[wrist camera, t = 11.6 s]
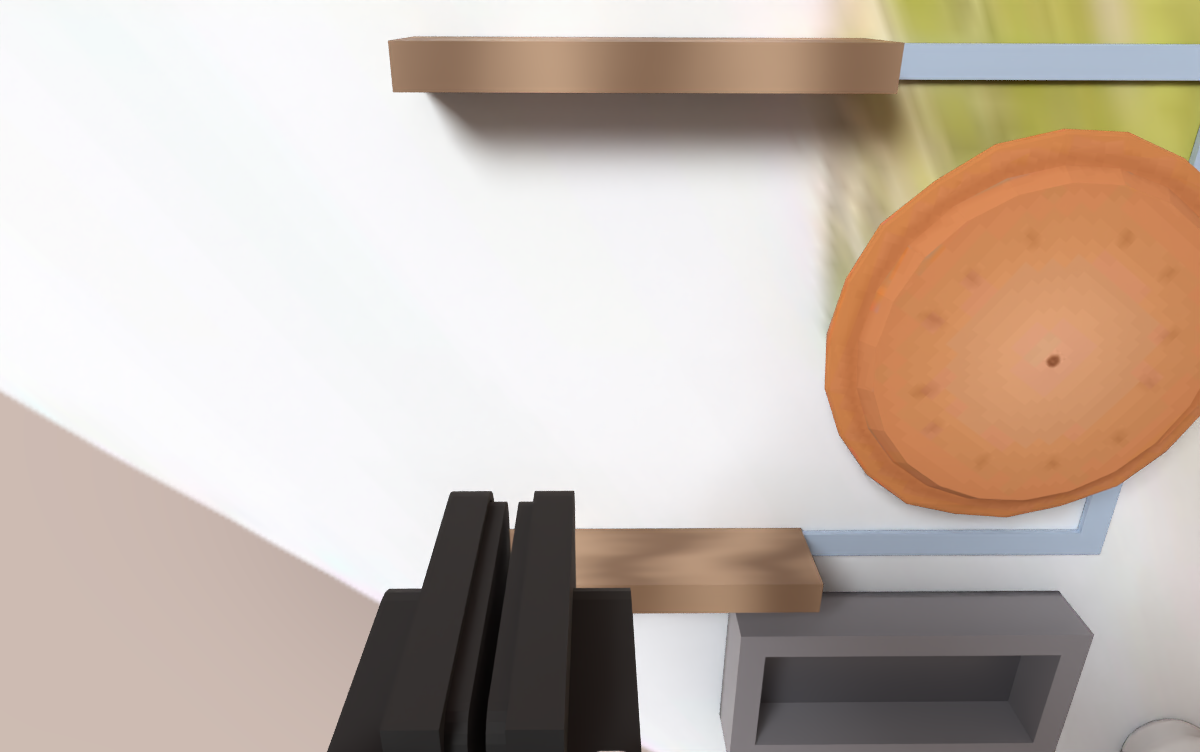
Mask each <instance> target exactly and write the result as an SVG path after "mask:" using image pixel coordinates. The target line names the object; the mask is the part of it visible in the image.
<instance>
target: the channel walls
mask: <svg viewBox="0 0 1200 752" xmlns="http://www.w3.org/2000/svg"><path fill="white" fill-rule="evenodd" d="M904 44H905V43H901V42H893V41H884V40H875V39H866V38H658V37H408V38H402V39H396V40H390V41H388V45H389V56H390V66H391V76H392V86H393V92H484V93H800V94H897V91H898V84H899V77H900V71H901V64H902V57H903V51H904ZM514 530H515V529H510V545H511V550H512V543H513V537H514ZM575 550H576V588H630V589H631V598H632V613H788V612H819V611H820V605H821V598H822V591H823V585H824V584H823V582H822V579H821V577H820V574H819V572H818V569H817V567H816V564H815V562H814V559H813V557H812V555H811V552H810V550H809V547H808V545H807V542H806V540H805V537H804V535H803V532H802V530H801V528H697V529H575Z"/></svg>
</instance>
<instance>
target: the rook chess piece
mask: <svg viewBox="0 0 1200 752" xmlns="http://www.w3.org/2000/svg"><path fill="white" fill-rule="evenodd" d="M1122 752H1200V728H1198V727H1196V726H1194V725H1192V724H1190V723H1187V722H1184V721H1181V720H1175V719H1162V720H1157V721H1152V722H1149V723H1147V724H1145V725H1143V726H1141V727H1139V728H1137V729H1136V730H1135V731H1134V732H1133V733H1132V734H1130V735H1129V736H1128V737H1127V739H1126V741H1125V743H1124V745H1123V747H1122Z"/></svg>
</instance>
